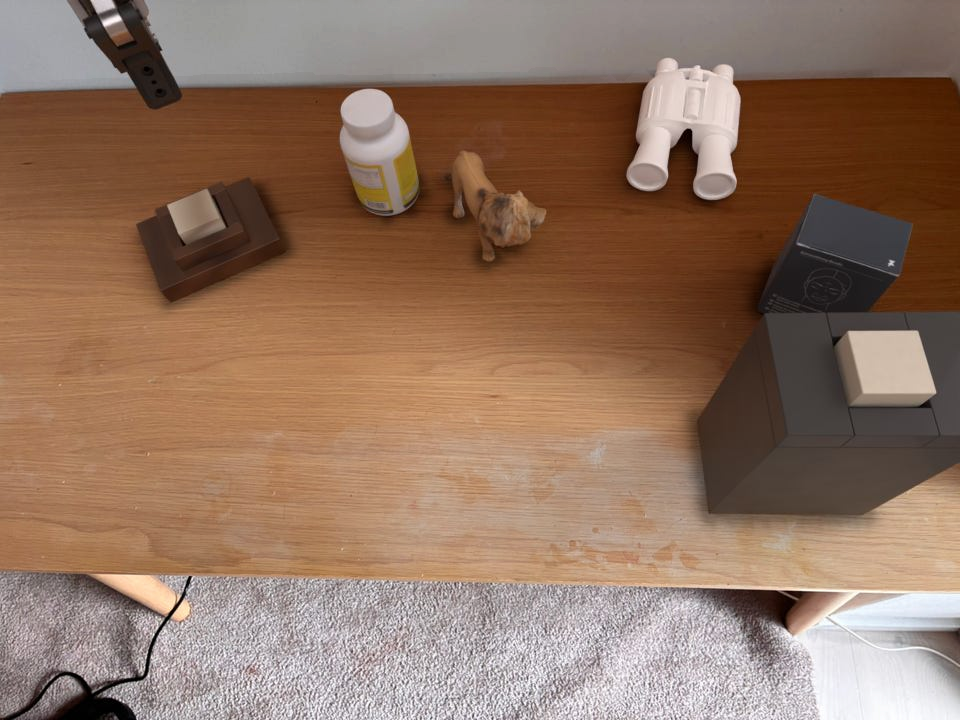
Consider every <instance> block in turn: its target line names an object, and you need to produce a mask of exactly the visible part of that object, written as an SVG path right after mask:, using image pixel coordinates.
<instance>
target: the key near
mask: <svg viewBox="0 0 960 720" xmlns="http://www.w3.org/2000/svg"><path fill="white" fill-rule="evenodd" d="M834 351H835V356H836V360H837V364H838V368H839V373H840V377H841V381H842V385H843V390H844V394H845V398H846V402H847V407H919V406H920V405H921V404H923V403H924V402H925V401H927V400H928V399H929V398H931V397H932V396H933V395H935V394H936V389H935V386H934V383H933V379H932V376H931V373H930V369H929V366H928V363H927V359H926V356H925V353H924V349H923V346H922V343H921V339H920V336H919V333H918V331H847V332H846V333H845V335H844V336H843V337H842V338H841V339H840V340H839V341H838V342H837V344H836V345H835V346H834Z"/></svg>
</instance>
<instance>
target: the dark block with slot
mask: <svg viewBox="0 0 960 720" xmlns="http://www.w3.org/2000/svg"><path fill="white" fill-rule="evenodd" d="M847 331H918V333H919V336H920V339H921V343H922V346H923V349H924V353H925V356H926V359H927V363H928V366H929V369H930V373H931V376H932V379H933V383H934V386H935V389H936V394H935V395H933V396H932V397H931V398H929V399H928V400H927V401H925V402H924V403H923V404H921V405H920V406H919V407H847V402H846V398H845V394H844V390H843V385H842V381H841V377H840V373H839V368H838V364H837V360H836V356H835V351H834V346H835V345H836V344H837V342H838V341H839V340H840V339H841V338H842V337H843V336H844V335H845V333H846V332H847ZM696 424H697V432H698V440H699V441H698V442H699V447H700V448H699V449H700V456H701V464H702V473H703V479H704V488H705V494H706V503H707V511H708V513H709V514H710V515H800V516H801V515H805V516H806V515H807V516H808V515H811V516H815V515H817V516H819V515H820V516H826V515H827V516H864V515H866V514H868V513H870V512H871V511H873V510H875V509H877V508H879V507H880V506H882V505H884V504H886V503H888V502H890V501H891V500H893V499H895V498H897V497H899V496H901V495H902V494H905V493H907V492H908V491H909V490H912V489H914V488H915V487H918V486H919V485H921V484H923V483H925V482H926V481H928V480H930V479H933V478H934V477H935V476H938V475H939V474H941V473H943V472H945V471H947V470H948V469H951V468H952V467H954V466H956V465H958V464H959V463H960V311H883V312H882V311H868V312H845V313H765V314H763V315H762V316H761V318H760V320H759V321H758V323H757V325H756V326H755V327H754V329H753V330H752V332H751V333H750V336H749V337H748V338H747V340H746V342H745V343H744V345H743V346H742V347H741V349H740V351H739V353H738V354H737V356H736V358H735V359H734V361H733V362H732V363H731V366H730V368H729V369H728V370H727V372H726V373H725V375H724V377H723V378H722V380H721V381H720V383H719V385H718V386H717V388H716V390H715V391H714V393H713V394H712V396H711V397H710V399H709V401H708V402H707V404H706V405H705V407H704V409H703V410H702V412H701V413H700V415H698V418H697V420H696Z"/></svg>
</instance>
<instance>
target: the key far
mask: <svg viewBox="0 0 960 720" xmlns="http://www.w3.org/2000/svg"><path fill="white" fill-rule="evenodd" d="M203 189H204V190H203ZM203 189H201V190H202V191H200V190H198V191H199V192H198V191H196V192H197V193H195V192H194V193H195V194H193V193H191V194H192V195H191V194H189V195H190V196H188V195H186V196H187V197H186V196H184V197H185V198H183V197H182V198H183V199H181V198H179V199H180V200H178V199H177V200H178V201H176V200H174V201H175V202H174V201H172V202H173V203H171V202H170V203H171V204H169V203H167V204H168V205H167V207H168V209H169V212H170V214H171V217H172V219H173V222H174V224H175V227H176V229H177V232H178V234H179V236H180V237H181V238H182V240H183V241H184V243H185V244H186V245H188V244H190V243H192V242H195V241H197V240H199V239H202V238H204V237H206V236H209V235H211V234H213V233H216V232H218V231H220V230H223V229H225V228H226V226H225V224H224V221H223V219H222V217H221V215H220V212H219V210H218V208H217V206H216V203H215V201H214V199H213V198H212V196H211V194H210V193H209V191H208V189H205V188H203Z"/></svg>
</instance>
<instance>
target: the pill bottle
mask: <svg viewBox="0 0 960 720" xmlns="http://www.w3.org/2000/svg"><path fill="white" fill-rule="evenodd" d="M340 116H341V119H342V120H341V121H342V124H343V125H342V127H341V130H340V131H339V132H340V133H339V145H340V149H341V152H342V155H343V157H344V160H345V164H346V167H347V170H348V173H349V176H350V178H351V181H352V184H353V187H354V191H355V194H356V197H357V199H358V201H359V203H360V205H361V207H363V208H364V209H365V210H367V211H368V212H369V213H371V214H373V215H377V216H383V217H388V216H394V215H399V214H401V213H403V212H405V211H407V210H408V209H409V208H411V207H412V206H413V205H414V204H415V203H416V202H417V199H418V197H419V194H420V180H419V175H418V171H417V170H418V169H417V165H416V160H415V156H414V151H413V146H412V140H411V135H410V131H409V127H408V125H407V123H406V121H405V119H403V117H402V116H400V114H398V113H397V112H396V111H395V107H394V104H393V100H392V99H391V97H390V96H389V95H388V94H387V93H386V92H384V91H382V90H380V89H376V88H363V89H360V90H356V91H354V92H352V93H351V94H349V95H348V96H347V97H345V99H344V100H343V101H342V103H341V106H340Z"/></svg>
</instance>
